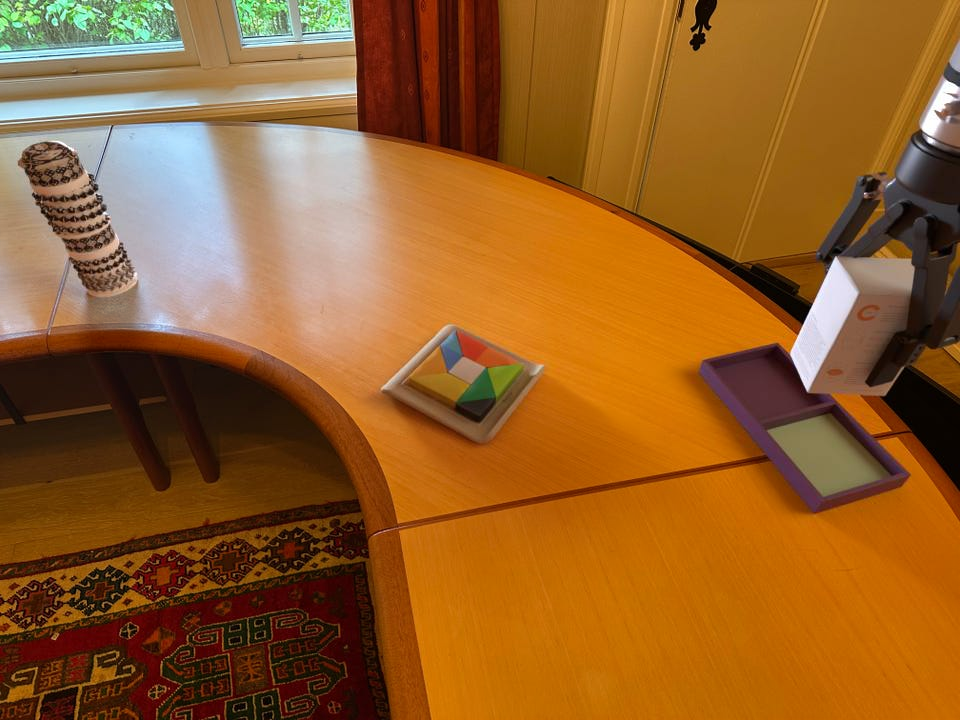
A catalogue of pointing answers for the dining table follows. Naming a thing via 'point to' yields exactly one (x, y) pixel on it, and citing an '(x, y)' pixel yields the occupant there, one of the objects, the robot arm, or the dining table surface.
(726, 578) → the dining table surface
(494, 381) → the wooden puzzle
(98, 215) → the decorative candle
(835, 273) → the small box
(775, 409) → the purple divided tray
